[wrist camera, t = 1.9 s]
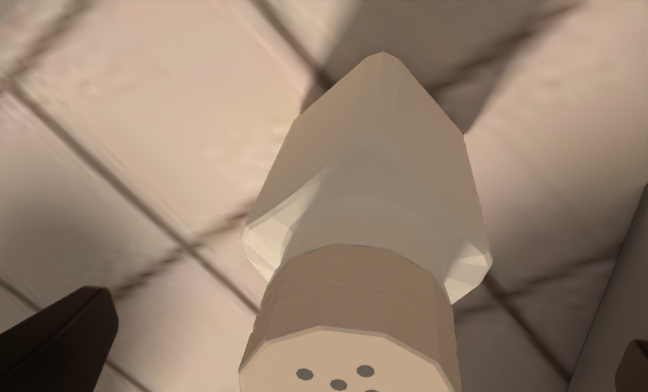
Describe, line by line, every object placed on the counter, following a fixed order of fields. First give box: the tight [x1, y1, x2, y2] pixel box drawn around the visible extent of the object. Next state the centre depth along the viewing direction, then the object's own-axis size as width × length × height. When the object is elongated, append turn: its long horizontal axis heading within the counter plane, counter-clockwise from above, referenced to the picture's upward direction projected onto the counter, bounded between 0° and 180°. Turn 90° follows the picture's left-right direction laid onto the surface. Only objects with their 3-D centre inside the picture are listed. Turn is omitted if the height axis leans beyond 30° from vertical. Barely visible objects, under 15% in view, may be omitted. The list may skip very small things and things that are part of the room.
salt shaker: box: [238, 51, 493, 392], centre depth 11 cm, size 4×4×10 cm
